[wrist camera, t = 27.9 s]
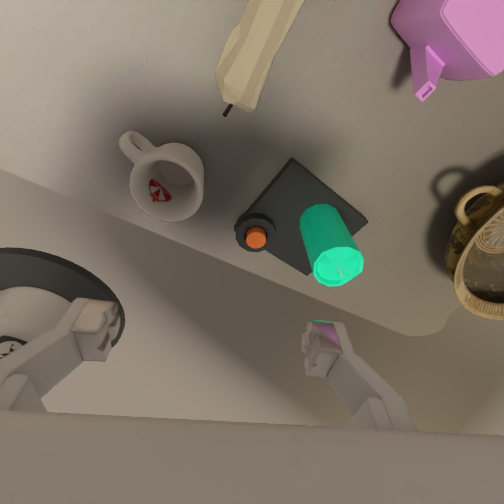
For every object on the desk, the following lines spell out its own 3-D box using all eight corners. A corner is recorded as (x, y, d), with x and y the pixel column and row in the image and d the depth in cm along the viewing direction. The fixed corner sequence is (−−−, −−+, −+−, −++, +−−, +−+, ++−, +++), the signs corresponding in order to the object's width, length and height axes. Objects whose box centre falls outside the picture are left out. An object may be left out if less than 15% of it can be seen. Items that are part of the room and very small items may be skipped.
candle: (303, 243, 44) (319, 300, 34) (295, 209, 40) (311, 262, 31) (342, 233, 43) (370, 288, 33) (337, 198, 39) (368, 249, 30)
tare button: (257, 245, 42) (257, 251, 41) (242, 236, 41) (242, 242, 40) (269, 232, 41) (270, 238, 40) (254, 222, 40) (254, 228, 39)
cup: (117, 146, 36) (89, 169, 30) (156, 100, 33) (135, 114, 27) (182, 204, 41) (171, 234, 35) (222, 168, 38) (217, 194, 32)
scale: (302, 273, 49) (305, 285, 47) (229, 228, 44) (228, 239, 41) (365, 217, 43) (372, 227, 41) (289, 155, 37) (292, 163, 35)
